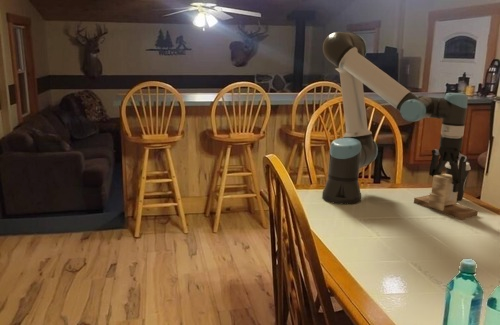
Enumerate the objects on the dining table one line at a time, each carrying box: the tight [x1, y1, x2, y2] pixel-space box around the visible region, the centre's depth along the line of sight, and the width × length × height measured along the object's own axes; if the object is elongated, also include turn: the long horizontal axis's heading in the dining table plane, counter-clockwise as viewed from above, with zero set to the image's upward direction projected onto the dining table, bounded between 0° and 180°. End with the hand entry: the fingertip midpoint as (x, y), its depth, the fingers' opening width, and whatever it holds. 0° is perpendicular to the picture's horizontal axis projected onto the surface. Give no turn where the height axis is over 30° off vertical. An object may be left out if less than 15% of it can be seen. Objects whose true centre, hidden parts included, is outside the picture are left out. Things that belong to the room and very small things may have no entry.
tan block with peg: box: [428, 173, 458, 211], centre depth 175 cm, size 6×10×12 cm, turn 121°
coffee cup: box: [444, 160, 472, 202], centre depth 189 cm, size 10×10×15 cm
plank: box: [413, 194, 479, 221], centre depth 177 cm, size 21×9×2 cm, turn 31°
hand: (443, 197), depth 175 cm, fingers closed on tan block with peg, 6 cm apart
